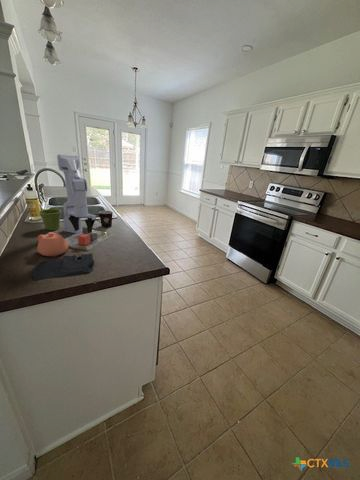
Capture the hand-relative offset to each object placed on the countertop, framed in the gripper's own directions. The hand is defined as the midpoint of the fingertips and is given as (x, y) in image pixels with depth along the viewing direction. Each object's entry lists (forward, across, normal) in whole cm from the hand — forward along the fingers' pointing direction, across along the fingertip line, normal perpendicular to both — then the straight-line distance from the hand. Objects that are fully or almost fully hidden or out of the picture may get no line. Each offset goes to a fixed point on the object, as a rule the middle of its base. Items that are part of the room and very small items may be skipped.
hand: (83, 231), depth 102 cm
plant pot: (+8, -34, +15) cm, 39 cm away
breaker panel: (+8, -4, +8) cm, 12 cm away
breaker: (+7, -9, +14) cm, 18 cm away
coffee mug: (+8, -10, +34) cm, 37 cm away
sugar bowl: (+9, -8, -12) cm, 17 cm away
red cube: (+7, 0, 0) cm, 7 cm away
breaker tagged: (+7, 0, +7) cm, 9 cm away
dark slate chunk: (+9, +7, -22) cm, 24 cm away
